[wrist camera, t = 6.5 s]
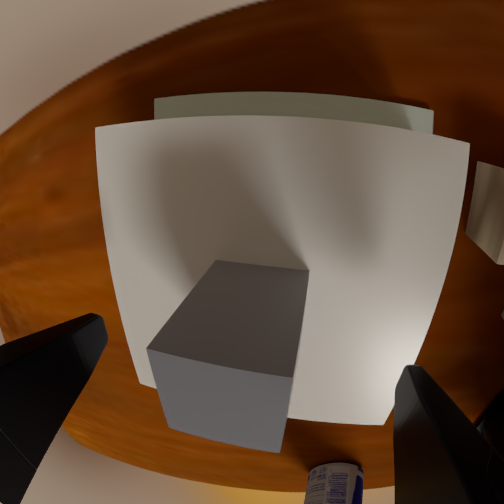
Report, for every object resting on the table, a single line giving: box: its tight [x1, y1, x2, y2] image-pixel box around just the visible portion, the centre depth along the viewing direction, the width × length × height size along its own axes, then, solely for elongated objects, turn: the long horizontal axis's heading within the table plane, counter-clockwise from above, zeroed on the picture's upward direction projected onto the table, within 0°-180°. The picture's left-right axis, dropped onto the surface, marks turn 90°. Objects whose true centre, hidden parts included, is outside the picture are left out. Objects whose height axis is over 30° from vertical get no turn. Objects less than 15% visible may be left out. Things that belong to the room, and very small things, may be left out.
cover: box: [95, 115, 470, 453], centre depth 11 cm, size 12×12×10 cm
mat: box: [154, 92, 434, 134], centre depth 16 cm, size 15×14×1 cm
